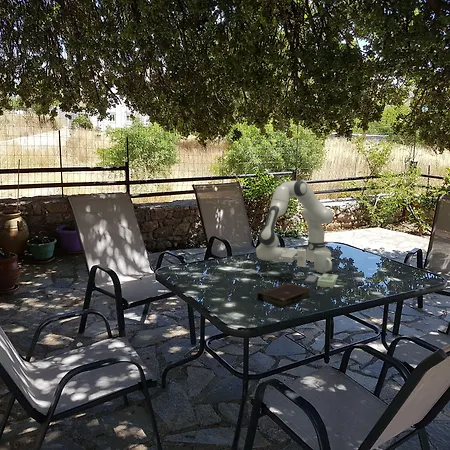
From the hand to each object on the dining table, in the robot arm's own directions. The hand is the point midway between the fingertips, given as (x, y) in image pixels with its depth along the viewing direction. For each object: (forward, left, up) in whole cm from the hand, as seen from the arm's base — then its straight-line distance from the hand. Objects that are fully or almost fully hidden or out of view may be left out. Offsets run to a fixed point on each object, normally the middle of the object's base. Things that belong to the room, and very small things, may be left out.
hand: (302, 256), depth 273 cm
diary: (+35, +16, -15) cm, 41 cm away
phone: (-2, +5, -14) cm, 15 cm away
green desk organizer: (-7, +14, -14) cm, 21 cm away
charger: (0, -1, -6) cm, 6 cm away
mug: (-22, -1, -14) cm, 27 cm away
